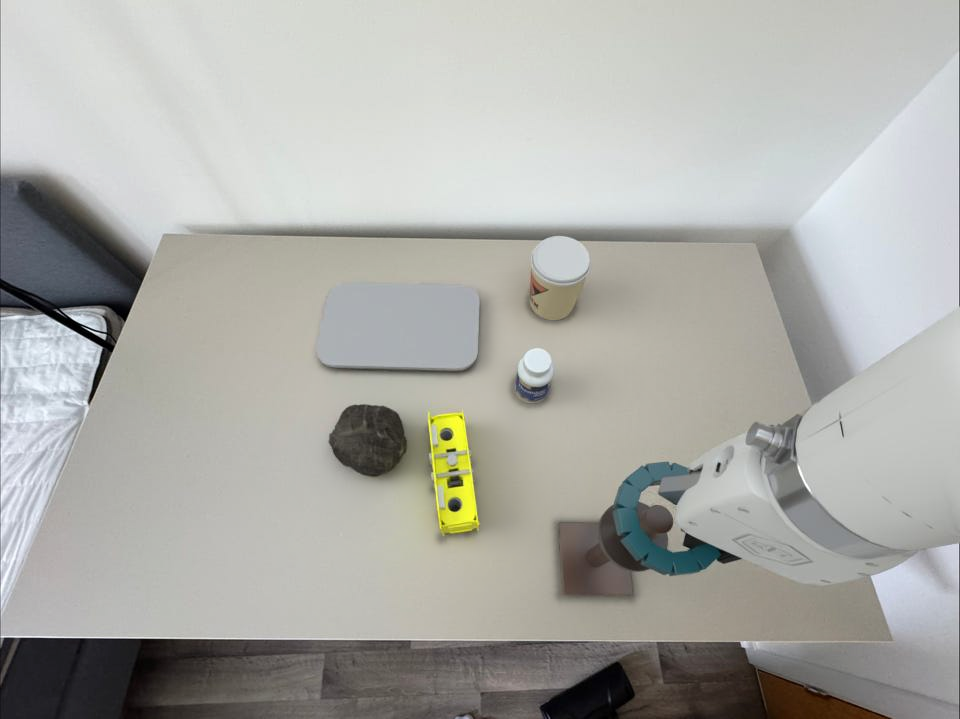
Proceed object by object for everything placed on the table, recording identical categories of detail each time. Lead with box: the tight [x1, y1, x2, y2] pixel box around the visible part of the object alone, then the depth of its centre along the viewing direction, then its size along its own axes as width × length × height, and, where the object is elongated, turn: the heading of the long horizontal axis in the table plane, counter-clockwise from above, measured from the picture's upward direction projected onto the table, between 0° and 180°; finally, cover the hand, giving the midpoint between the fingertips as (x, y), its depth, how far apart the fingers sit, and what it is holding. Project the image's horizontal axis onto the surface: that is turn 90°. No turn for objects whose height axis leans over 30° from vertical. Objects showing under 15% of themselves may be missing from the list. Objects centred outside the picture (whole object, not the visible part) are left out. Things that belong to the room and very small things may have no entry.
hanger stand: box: [557, 501, 674, 597], centre depth 55 cm, size 9×9×28 cm
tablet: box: [315, 281, 481, 372], centre depth 84 cm, size 16×26×2 cm, turn 88°
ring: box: [612, 461, 722, 577], centre depth 41 cm, size 9×9×2 cm
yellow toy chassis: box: [427, 409, 481, 537], centre depth 69 cm, size 16×6×8 cm, turn 8°
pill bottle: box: [514, 347, 555, 404], centre depth 75 cm, size 5×5×10 cm
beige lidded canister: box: [529, 235, 592, 321], centre depth 82 cm, size 9×9×12 cm
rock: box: [328, 403, 408, 478], centre depth 71 cm, size 10×11×10 cm
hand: (706, 536), depth 41 cm, fingers closed on ring, 2 cm apart
